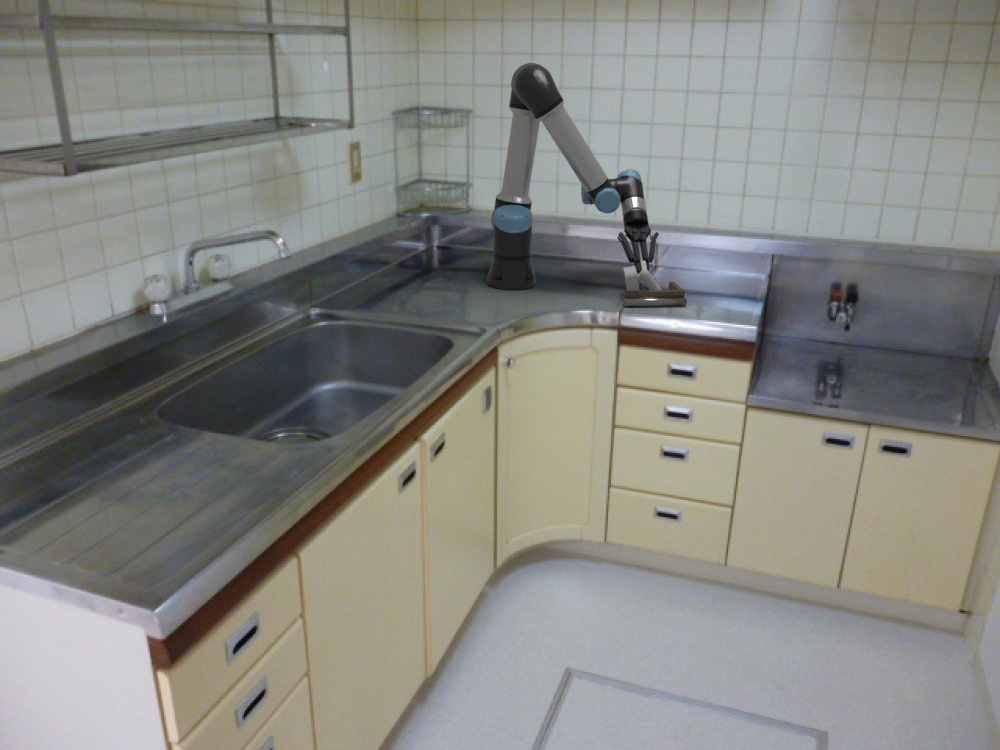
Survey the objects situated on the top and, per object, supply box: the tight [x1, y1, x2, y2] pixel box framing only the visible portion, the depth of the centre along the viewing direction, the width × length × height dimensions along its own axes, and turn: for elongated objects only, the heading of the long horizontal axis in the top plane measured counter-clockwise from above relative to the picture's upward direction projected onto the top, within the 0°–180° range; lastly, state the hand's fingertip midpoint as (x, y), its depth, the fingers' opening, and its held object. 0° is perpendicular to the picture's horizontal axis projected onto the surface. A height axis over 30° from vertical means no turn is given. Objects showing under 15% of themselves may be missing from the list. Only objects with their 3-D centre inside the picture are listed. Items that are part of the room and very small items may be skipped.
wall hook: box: [622, 265, 662, 291], centre depth 250 cm, size 8×10×10 cm
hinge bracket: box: [622, 281, 688, 307], centre depth 247 cm, size 18×13×4 cm
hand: (644, 281), depth 252 cm, fingers closed
